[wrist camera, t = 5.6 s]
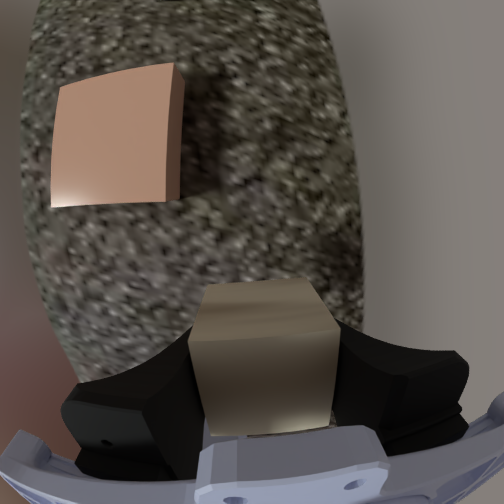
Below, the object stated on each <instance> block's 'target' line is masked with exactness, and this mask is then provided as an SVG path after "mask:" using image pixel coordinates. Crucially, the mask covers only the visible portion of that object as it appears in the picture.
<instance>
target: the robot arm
mask: <svg viewBox="0 0 504 504" xmlns="http://www.w3.org/2000/svg"><path fill="white" fill-rule="evenodd" d="M334 319H335V318H334ZM335 321H336V322H337V324H338V325H339V327H340V328H341V330H340V342H339V353H338V362H337V371H336V380H335V388H334V395H333V402H332V409H333V412H334V415H335V419H336V423H337V426H338V427H335V428H330V429H325V430H319V431H313V432H307V433H300V434H292V435H284V436H274V437H262V438H247V435H243V436H211V434H210V431H209V427H208V424H207V420H206V417H205V413H204V409H203V405H202V402H201V398H200V394H199V390H198V385H197V381H196V377H195V373H194V368H193V364H192V359H191V355H190V350H189V345H188V339H189V336H190V333H191V330H192V327H193V326H192V327H191V328H189V329H188V330H187V331H186V332H185V333H184V334H183V335H182V336H180V337H179V338H178V339H177V340H176V341H175V342H173V343H172V344H171V345H170V346H168V347H167V348H166V349H164V350H163V351H162V352H160V353H159V354H157V355H156V356H154V357H153V358H151V359H149V360H148V361H146V362H144V363H142V364H140V365H138V366H136V367H134V368H132V369H129V370H127V371H125V372H122V373H120V374H117V375H114V376H111V377H107V378H104V379H100V380H95V381H90V382H85V383H78V384H77V385H76V386H75V387H74V389H73V390H72V392H71V393H70V394H69V396H68V397H67V398H66V400H65V401H64V403H63V404H62V406H61V415H62V419H63V421H64V423H65V425H66V426H67V428H68V429H69V431H70V432H71V434H72V435H73V437H74V438H75V440H76V441H77V442H78V444H79V445H80V447H81V448H82V449H81V451H80V453H79V455H78V457H77V459H76V461H72V460H70V459H67V458H64V457H62V456H59V455H56V454H53V453H52V452H51V450H50V449H49V447H48V446H47V445H46V444H45V442H44V441H42V440H41V439H40V438H38V437H37V436H34V435H32V434H29V433H28V432H25V431H23V430H19V431H18V432H17V434H16V435H15V437H14V438H13V439H12V441H11V442H10V443H9V445H8V446H7V448H6V449H5V451H4V452H3V454H2V455H1V456H0V475H1V476H2V477H3V478H4V479H5V480H6V481H7V482H8V483H9V484H10V485H11V486H12V487H13V488H14V489H15V490H16V491H17V492H18V493H19V494H21V495H22V496H23V497H24V498H25V499H26V500H27V501H29V502H30V503H31V504H456V503H457V502H459V501H460V500H462V499H463V498H465V497H466V496H468V495H469V494H470V493H472V492H473V491H475V490H476V489H477V488H478V487H480V486H481V485H483V484H484V483H485V482H486V481H488V480H489V479H490V478H491V477H493V476H494V475H495V474H496V473H498V472H499V471H500V470H501V469H502V468H504V392H502V393H501V394H499V395H498V396H497V397H496V398H495V399H494V400H493V402H492V403H491V405H490V407H489V409H488V411H487V413H486V414H484V415H483V416H481V417H480V418H478V419H476V420H475V421H473V422H471V423H470V424H468V423H467V422H466V421H465V420H464V418H463V417H462V416H461V415H460V414H459V413H460V412H461V411H462V407H461V406H460V405H459V404H458V401H459V399H460V397H461V394H462V392H463V390H464V388H465V385H466V383H467V380H468V376H469V365H468V363H467V362H466V361H465V360H464V359H463V358H462V357H461V356H460V355H459V354H458V353H457V352H456V351H454V350H453V351H430V350H420V349H412V348H407V347H402V346H397V345H393V344H390V343H387V342H384V341H381V340H378V339H374V338H372V337H370V336H367V335H365V334H363V333H361V332H359V331H357V330H355V329H353V328H351V327H349V326H348V325H346V324H344V323H342V322H340V321H339V320H337V319H335Z"/></svg>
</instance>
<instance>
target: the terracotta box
mask: <svg viewBox="0 0 504 504" xmlns="http://www.w3.org/2000/svg"><path fill="white" fill-rule="evenodd" d="M184 90H185V81H184V79H183V78H182V76H181V74H180V73H179V71H178V69H177V67H176V66H175V64H174V63H166V64H158V65H151V66H145V67H139V68H133V69H128V70H123V71H118V72H114V73H109V74H105V75H101V76H97V77H93V78H89V79H86V80H82V81H79V82H76V83H72V84H69V85H66V86H63V87H60V92H59V98H58V104H57V110H56V117H55V125H54V134H53V145H52V161H51V207H63V206H76V205H92V204H109V203H132V202H166V201H171V200H178V199H180V159H181V134H182V117H183V102H184Z"/></svg>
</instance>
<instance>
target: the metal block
mask: <svg viewBox="0 0 504 504" xmlns="http://www.w3.org/2000/svg"><path fill="white" fill-rule="evenodd" d="M340 330H341V328H340V327H339V325H338V324H337V322H336V321H335V319H334V318H333V316H332V315H331V313H330V312H329V310H328V309H327V307H326V306H325V304H324V303H323V301H322V300H321V298H320V297H319V295H318V294H317V292H316V291H315V290H314V288H313V287H312V285H311V284H310V282H309V281H308V279H307V278H306V277H301V278H290V279H278V280H266V281H253V282H239V283H225V284H209V285H208V286H207V289H206V291H205V294H204V297H203V300H202V302H201V305H200V308H199V311H198V313H197V316H196V319H195V322H194V325H193V327H192V330H191V333H190V336H189V339H188V345H189V350H190V355H191V359H192V364H193V368H194V373H195V377H196V381H197V385H198V390H199V394H200V398H201V402H202V405H203V409H204V413H205V417H206V420H207V424H208V427H209V431H210V434H211V436H243V435H260V434H272V433H282V432H291V431H299V430H306V429H312V428H318V427H324V426H329V421H330V415H331V409H332V402H333V395H334V388H335V380H336V371H337V362H338V353H339V342H340Z"/></svg>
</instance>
